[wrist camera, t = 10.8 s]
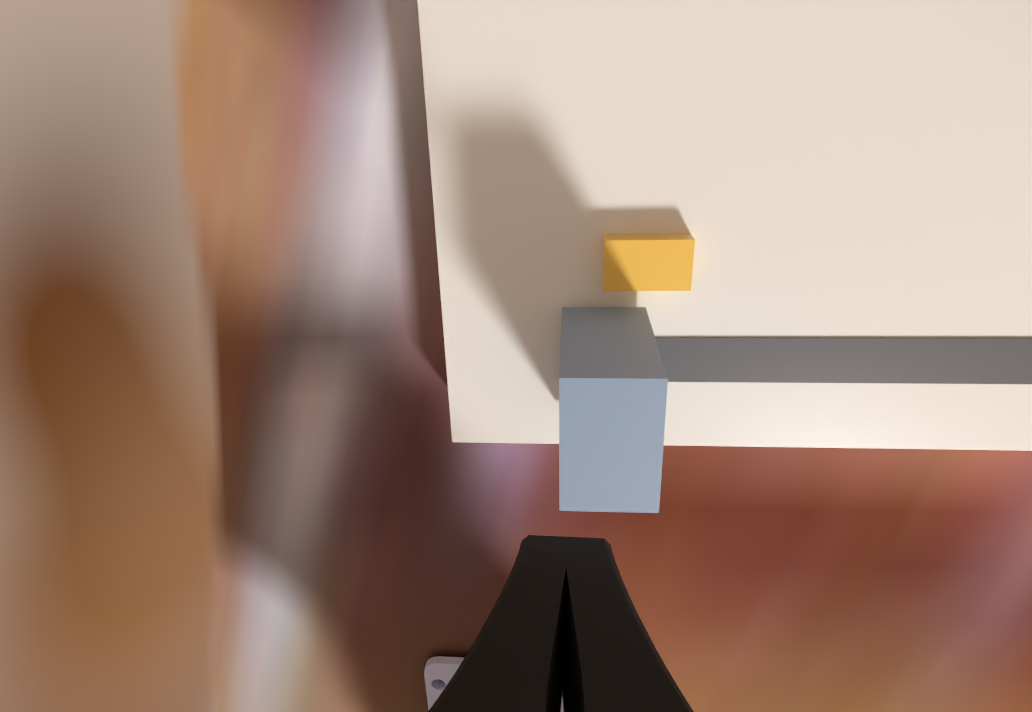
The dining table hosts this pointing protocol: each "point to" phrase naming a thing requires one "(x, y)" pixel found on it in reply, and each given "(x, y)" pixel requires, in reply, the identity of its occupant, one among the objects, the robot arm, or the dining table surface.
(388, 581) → the dining table surface
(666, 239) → the switch board
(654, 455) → the grey rectangular block
